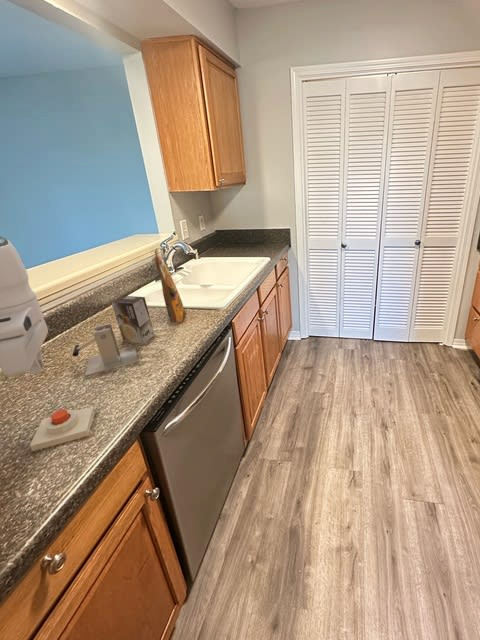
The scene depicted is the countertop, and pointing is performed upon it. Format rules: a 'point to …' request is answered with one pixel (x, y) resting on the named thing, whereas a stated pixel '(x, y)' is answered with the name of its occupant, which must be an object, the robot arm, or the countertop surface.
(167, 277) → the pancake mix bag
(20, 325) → the robot arm
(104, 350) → the toaster bracket
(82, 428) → the control block
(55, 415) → the button
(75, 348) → the toast lever
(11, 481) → the countertop surface
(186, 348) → the countertop surface
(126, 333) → the coffee box
